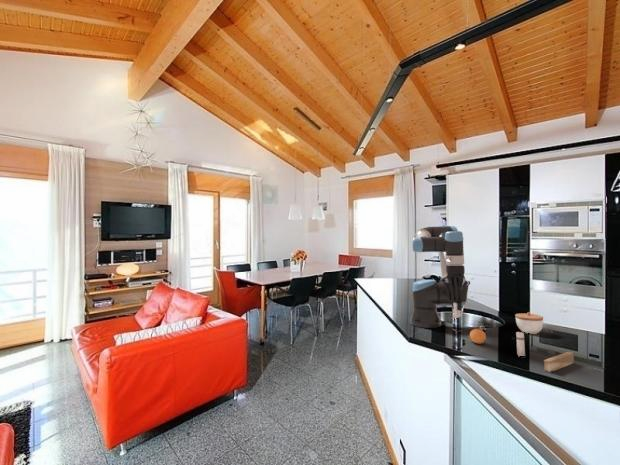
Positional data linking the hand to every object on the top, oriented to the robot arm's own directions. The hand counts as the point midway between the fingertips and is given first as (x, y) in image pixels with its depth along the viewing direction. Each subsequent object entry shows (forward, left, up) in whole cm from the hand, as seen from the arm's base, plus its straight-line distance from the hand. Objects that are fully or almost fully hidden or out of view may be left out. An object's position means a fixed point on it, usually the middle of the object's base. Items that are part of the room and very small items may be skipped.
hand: (457, 317), depth 137 cm
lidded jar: (+35, +12, -10) cm, 38 cm away
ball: (+6, -7, -6) cm, 11 cm away
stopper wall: (+23, -30, -9) cm, 39 cm away
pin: (+16, -21, -9) cm, 28 cm away
